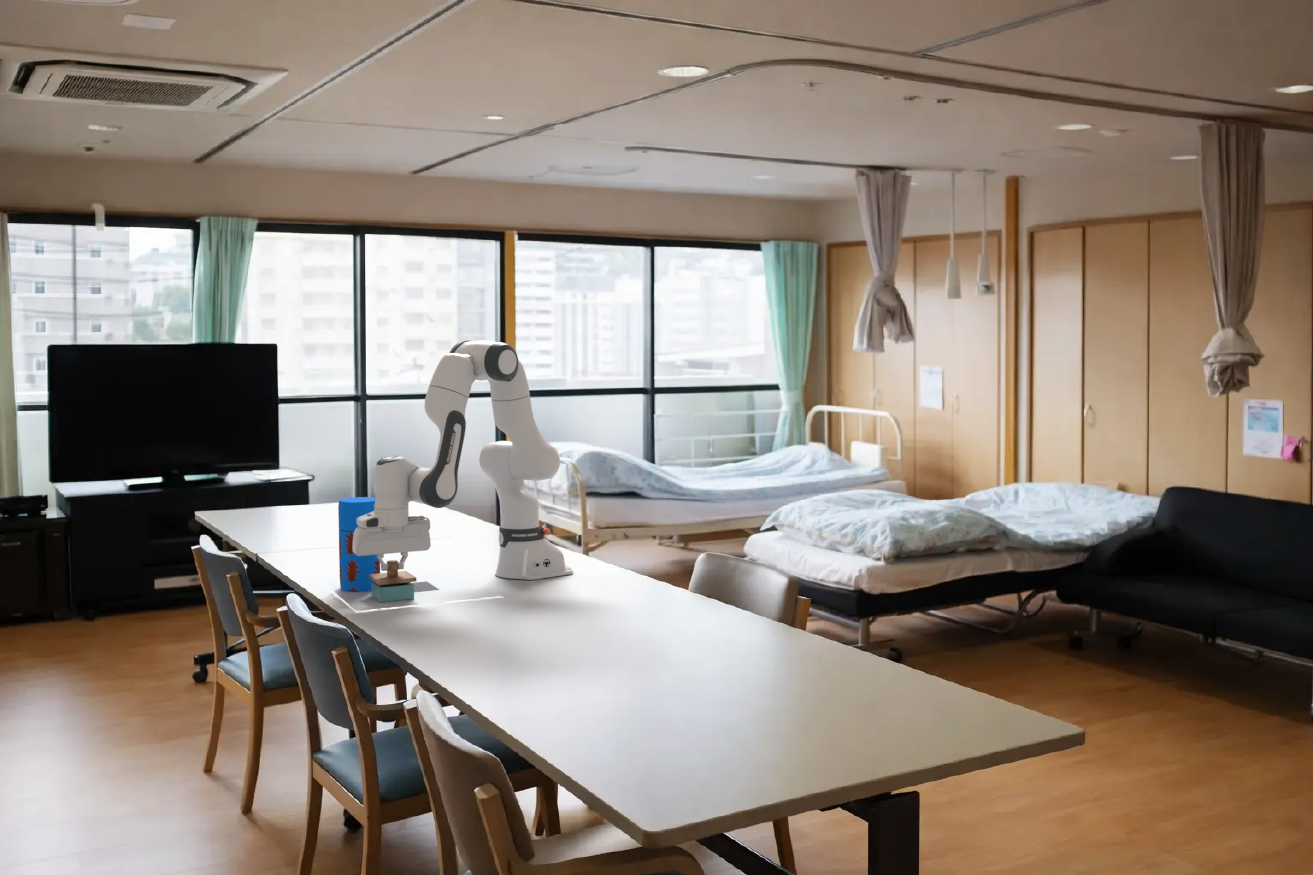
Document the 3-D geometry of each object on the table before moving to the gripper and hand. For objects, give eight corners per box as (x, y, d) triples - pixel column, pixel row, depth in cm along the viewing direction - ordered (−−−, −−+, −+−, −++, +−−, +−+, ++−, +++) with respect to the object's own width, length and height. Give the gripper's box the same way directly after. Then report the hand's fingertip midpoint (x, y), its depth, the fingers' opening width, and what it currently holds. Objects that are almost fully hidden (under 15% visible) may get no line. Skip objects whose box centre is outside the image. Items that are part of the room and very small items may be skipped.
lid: (406, 574, 323) (405, 556, 322) (416, 581, 314) (416, 562, 314) (369, 577, 318) (368, 559, 318) (378, 585, 309) (378, 565, 309)
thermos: (370, 594, 322) (368, 503, 320) (333, 593, 324) (331, 501, 322) (386, 586, 333) (385, 497, 331) (350, 585, 335) (349, 496, 333)
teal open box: (404, 594, 323) (404, 578, 322) (414, 601, 315) (413, 584, 314) (371, 598, 318) (371, 581, 318) (380, 604, 311) (379, 587, 310)
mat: (426, 583, 337) (426, 581, 337) (439, 591, 327) (439, 589, 326) (384, 587, 332) (384, 585, 332) (396, 596, 321) (396, 593, 321)
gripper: (426, 513, 322) (427, 564, 323) (350, 518, 313) (351, 570, 314) (433, 516, 317) (434, 568, 318) (356, 522, 307) (357, 575, 308)
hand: (392, 569), depth 316 cm, fingers closed on lid, 3 cm apart
